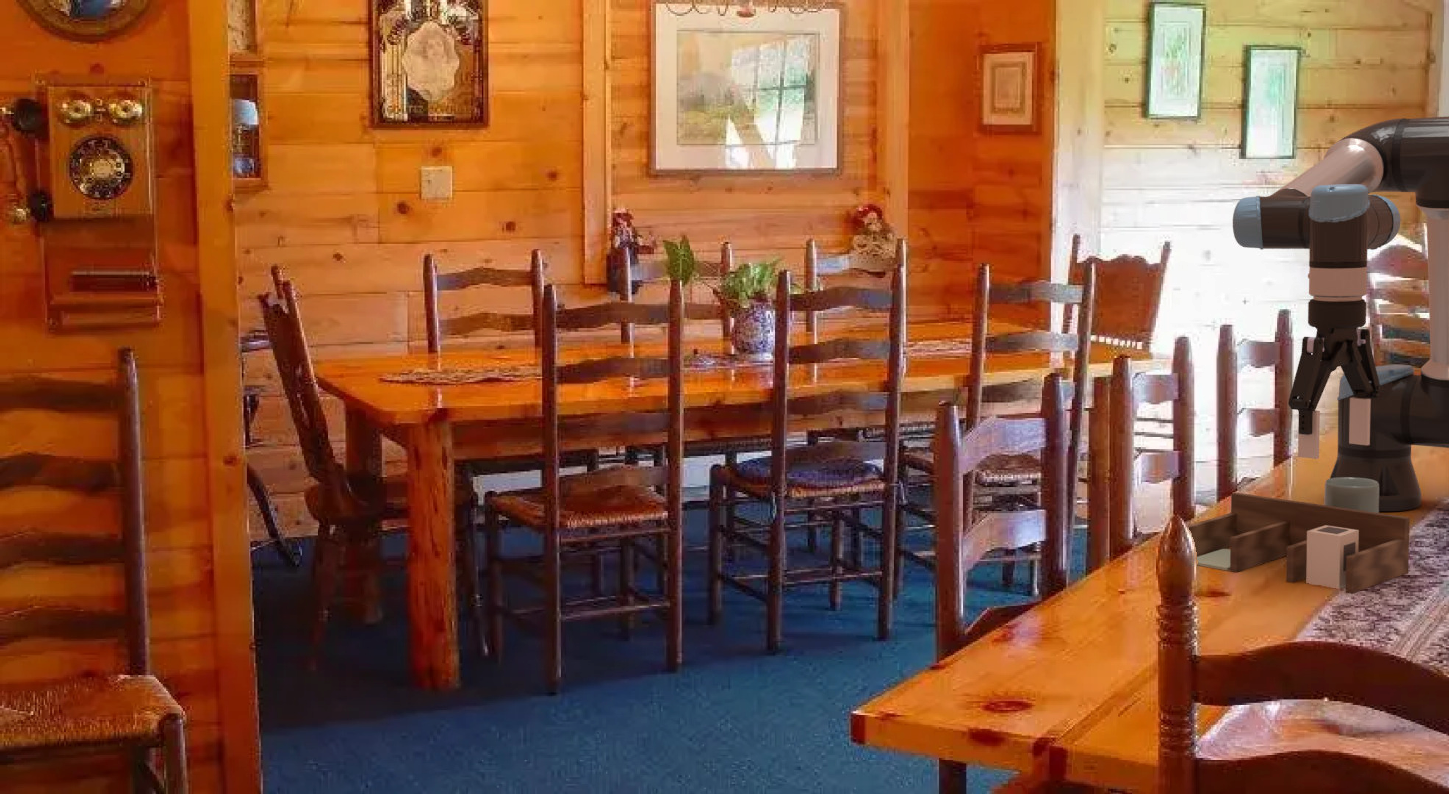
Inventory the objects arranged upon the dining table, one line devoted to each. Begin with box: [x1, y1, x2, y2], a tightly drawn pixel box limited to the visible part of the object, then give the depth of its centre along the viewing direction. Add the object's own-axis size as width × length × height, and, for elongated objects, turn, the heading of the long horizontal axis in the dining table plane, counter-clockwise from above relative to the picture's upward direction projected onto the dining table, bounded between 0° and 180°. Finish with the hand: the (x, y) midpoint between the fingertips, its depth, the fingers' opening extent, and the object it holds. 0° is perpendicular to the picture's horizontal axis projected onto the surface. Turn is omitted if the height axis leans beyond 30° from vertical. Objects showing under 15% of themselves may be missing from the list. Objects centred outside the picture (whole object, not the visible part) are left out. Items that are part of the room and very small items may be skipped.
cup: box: [1323, 477, 1380, 513], centre depth 266 cm, size 8×8×10 cm
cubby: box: [1187, 492, 1411, 594], centre depth 254 cm, size 16×28×8 cm, turn 42°
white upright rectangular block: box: [1305, 525, 1359, 590], centre depth 245 cm, size 5×5×8 cm
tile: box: [1197, 548, 1230, 571], centre depth 260 cm, size 10×7×1 cm
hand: (1334, 451), depth 243 cm, fingers open, 13 cm apart
